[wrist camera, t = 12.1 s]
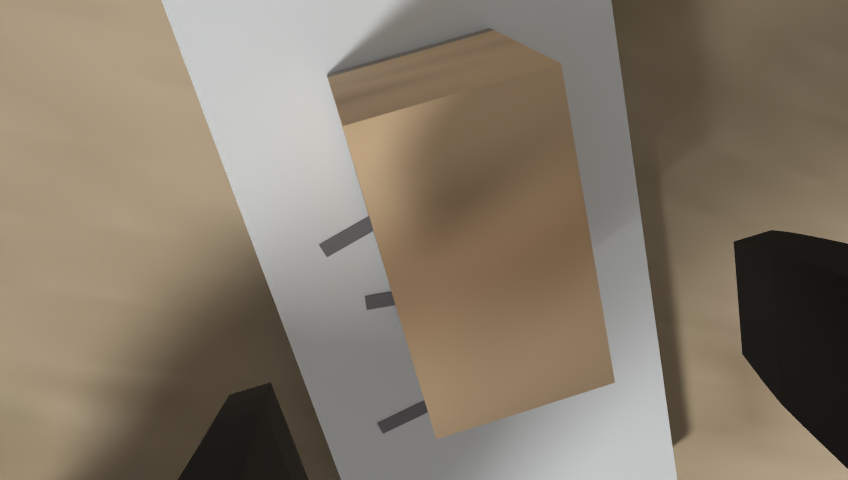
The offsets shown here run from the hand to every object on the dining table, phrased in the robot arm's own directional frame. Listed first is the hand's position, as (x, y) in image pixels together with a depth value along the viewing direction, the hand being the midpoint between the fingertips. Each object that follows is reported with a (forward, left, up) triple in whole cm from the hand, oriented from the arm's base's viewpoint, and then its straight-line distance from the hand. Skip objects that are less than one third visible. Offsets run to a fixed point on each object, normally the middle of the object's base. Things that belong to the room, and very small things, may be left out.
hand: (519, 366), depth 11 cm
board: (-3, -2, -10) cm, 10 cm away
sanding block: (0, -1, -9) cm, 9 cm away
